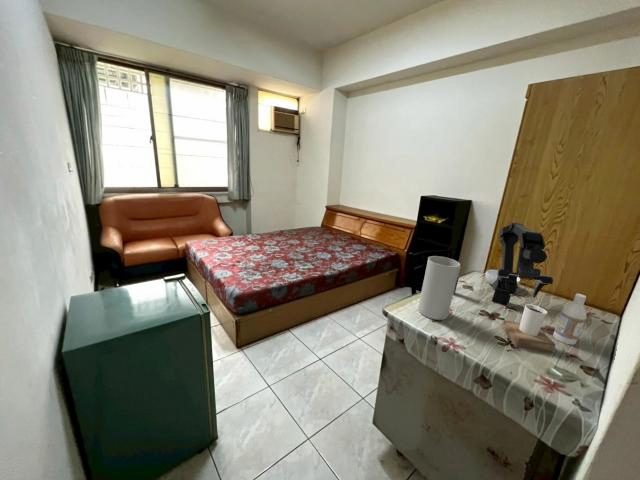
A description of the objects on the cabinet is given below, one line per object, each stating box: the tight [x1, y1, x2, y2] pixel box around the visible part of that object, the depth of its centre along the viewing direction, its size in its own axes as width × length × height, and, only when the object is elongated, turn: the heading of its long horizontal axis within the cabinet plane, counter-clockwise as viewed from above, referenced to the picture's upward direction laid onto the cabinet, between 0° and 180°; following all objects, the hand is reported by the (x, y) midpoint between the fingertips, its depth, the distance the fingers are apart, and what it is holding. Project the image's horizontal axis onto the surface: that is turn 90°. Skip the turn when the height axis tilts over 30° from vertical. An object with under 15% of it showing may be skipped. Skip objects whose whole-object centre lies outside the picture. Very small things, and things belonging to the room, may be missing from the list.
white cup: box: [519, 303, 548, 336], centre depth 101 cm, size 7×7×10 cm
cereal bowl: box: [485, 269, 521, 286], centre depth 152 cm, size 17×17×7 cm
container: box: [453, 266, 462, 296], centre depth 138 cm, size 5×5×15 cm
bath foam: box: [552, 293, 587, 346], centre depth 103 cm, size 7×7×20 cm
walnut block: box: [501, 320, 556, 354], centre depth 102 cm, size 12×12×4 cm
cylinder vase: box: [417, 255, 461, 321], centre depth 114 cm, size 12×12×25 cm
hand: (520, 295), depth 114 cm, fingers open, 9 cm apart
